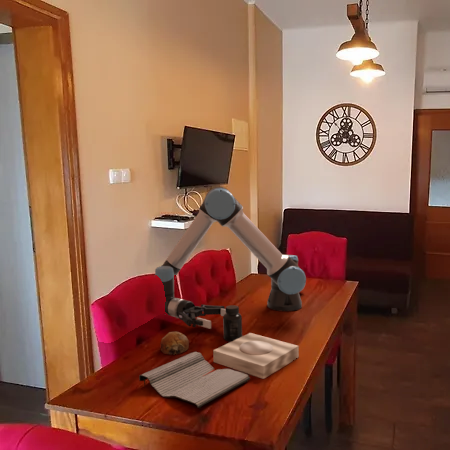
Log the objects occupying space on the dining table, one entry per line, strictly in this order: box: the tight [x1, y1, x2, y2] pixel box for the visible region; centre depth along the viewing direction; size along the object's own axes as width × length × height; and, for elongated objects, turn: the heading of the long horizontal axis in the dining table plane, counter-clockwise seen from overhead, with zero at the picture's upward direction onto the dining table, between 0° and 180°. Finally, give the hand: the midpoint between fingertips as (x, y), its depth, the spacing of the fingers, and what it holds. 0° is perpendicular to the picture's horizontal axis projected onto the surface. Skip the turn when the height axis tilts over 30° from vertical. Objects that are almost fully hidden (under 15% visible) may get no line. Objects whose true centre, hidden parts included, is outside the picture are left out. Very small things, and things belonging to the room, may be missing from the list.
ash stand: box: [212, 332, 300, 380], centre depth 161 cm, size 20×20×4 cm
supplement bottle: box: [222, 304, 243, 342], centre depth 180 cm, size 7×7×12 cm
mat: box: [138, 351, 251, 409], centre depth 145 cm, size 23×24×5 cm
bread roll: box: [160, 331, 190, 356], centre depth 171 cm, size 10×10×8 cm
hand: (222, 319), depth 182 cm, fingers open, 13 cm apart
